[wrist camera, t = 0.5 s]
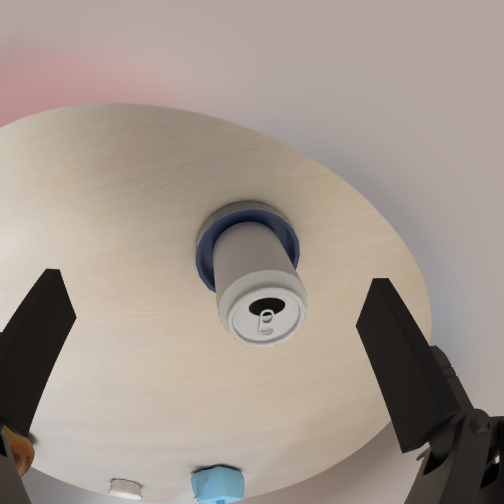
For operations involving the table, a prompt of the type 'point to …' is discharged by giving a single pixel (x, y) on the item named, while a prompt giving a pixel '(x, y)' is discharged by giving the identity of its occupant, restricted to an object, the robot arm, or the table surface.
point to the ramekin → (125, 489)
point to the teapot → (218, 485)
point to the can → (257, 286)
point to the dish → (239, 215)
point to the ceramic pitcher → (20, 451)
